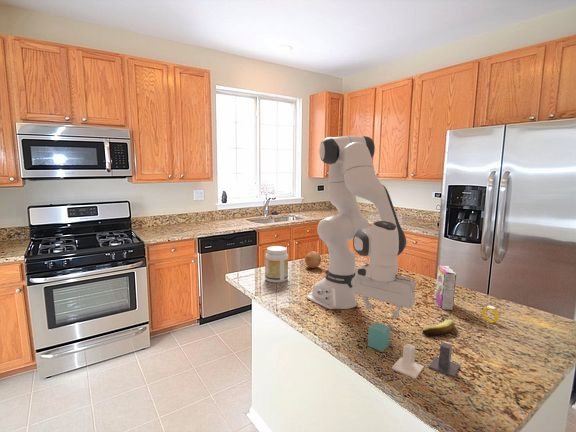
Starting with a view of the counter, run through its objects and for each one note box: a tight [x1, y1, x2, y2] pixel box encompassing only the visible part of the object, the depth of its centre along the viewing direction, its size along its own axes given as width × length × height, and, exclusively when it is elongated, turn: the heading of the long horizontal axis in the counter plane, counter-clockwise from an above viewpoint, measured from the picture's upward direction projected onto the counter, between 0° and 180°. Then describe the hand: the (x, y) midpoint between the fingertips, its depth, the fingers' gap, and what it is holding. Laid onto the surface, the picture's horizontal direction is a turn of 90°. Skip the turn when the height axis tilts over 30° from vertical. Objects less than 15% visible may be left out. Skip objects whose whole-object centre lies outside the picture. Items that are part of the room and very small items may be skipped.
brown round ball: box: [304, 250, 322, 269], centre depth 192 cm, size 10×10×10 cm
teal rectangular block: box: [367, 321, 391, 352], centre depth 108 cm, size 5×5×7 cm
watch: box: [481, 305, 499, 324], centre depth 127 cm, size 6×3×6 cm, turn 18°
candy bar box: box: [435, 264, 457, 311], centre depth 141 cm, size 11×5×16 cm, turn 168°
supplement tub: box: [264, 245, 289, 284], centre depth 170 cm, size 12×12×17 cm
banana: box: [386, 317, 483, 344], centre depth 120 cm, size 35×27×4 cm
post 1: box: [391, 342, 425, 380], centre depth 95 cm, size 7×7×7 cm
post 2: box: [428, 341, 461, 378], centre depth 96 cm, size 7×7×7 cm
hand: (381, 313), depth 106 cm, fingers open, 8 cm apart
